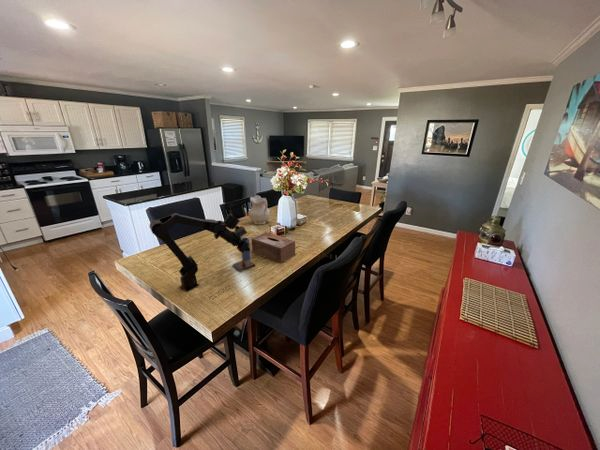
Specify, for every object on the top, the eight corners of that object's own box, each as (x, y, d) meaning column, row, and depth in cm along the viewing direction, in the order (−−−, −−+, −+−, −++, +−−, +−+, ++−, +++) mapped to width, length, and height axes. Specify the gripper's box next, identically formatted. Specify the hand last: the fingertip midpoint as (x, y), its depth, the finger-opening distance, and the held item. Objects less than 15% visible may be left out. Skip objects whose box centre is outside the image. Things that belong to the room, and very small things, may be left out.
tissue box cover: (252, 251, 163) (251, 238, 159) (266, 244, 174) (266, 232, 170) (281, 262, 148) (280, 248, 145) (295, 254, 159) (295, 240, 156)
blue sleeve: (247, 261, 138) (246, 241, 134) (240, 260, 140) (239, 240, 135) (251, 258, 142) (250, 238, 138) (245, 257, 144) (243, 237, 140)
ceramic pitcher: (276, 223, 221) (276, 196, 214) (262, 227, 205) (262, 199, 198) (258, 219, 232) (258, 193, 225) (244, 223, 216) (243, 196, 209)
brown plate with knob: (240, 271, 138) (239, 265, 137) (232, 265, 145) (232, 259, 143) (255, 265, 145) (254, 259, 143) (247, 260, 151) (246, 254, 149)
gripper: (244, 228, 124) (263, 242, 134) (230, 219, 138) (249, 232, 148) (231, 246, 122) (252, 259, 132) (218, 234, 136) (238, 247, 146)
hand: (247, 248), depth 140 cm, fingers closed on blue sleeve, 5 cm apart
